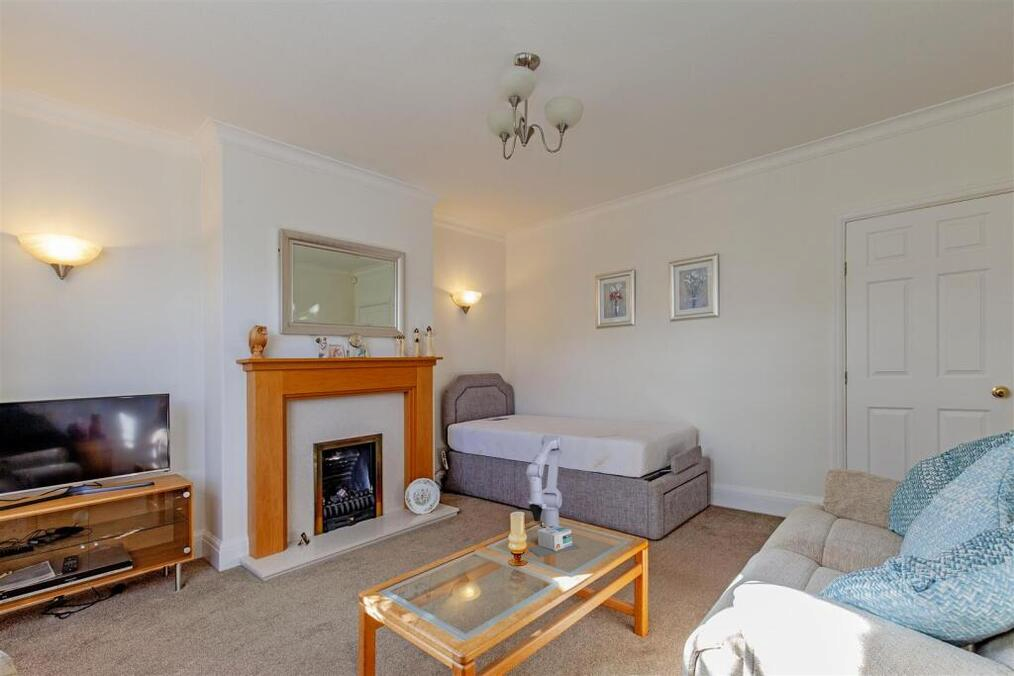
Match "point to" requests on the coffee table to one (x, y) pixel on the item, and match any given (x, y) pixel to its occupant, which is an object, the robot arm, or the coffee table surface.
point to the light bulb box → (555, 537)
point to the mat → (549, 550)
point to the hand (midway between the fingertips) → (537, 521)
